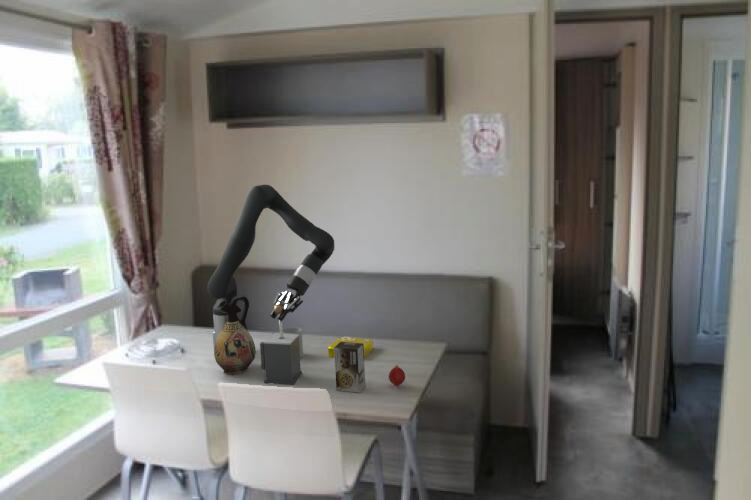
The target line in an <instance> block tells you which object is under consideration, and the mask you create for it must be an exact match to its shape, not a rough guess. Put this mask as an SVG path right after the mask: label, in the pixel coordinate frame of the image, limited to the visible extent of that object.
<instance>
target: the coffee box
mask: <svg viewBox="0 0 751 500" xmlns="http://www.w3.org/2000/svg"><path fill="white" fill-rule="evenodd" d="M334 356H335V358H334V368H335V371H334V372H335V387H336V388H335V391H338V392H350V393H359V394H360V393H361V392H362V391H363V390H364V388H366V377H365V376H366V373H365V372H366V371H365V370H366V369H365V357H364V345H363V343H350V342H340V343H339V344H337V346H335V347H334Z"/></svg>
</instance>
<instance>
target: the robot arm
mask: <svg viewBox="0 0 751 500" xmlns="http://www.w3.org/2000/svg"><path fill="white" fill-rule="evenodd" d="M245 197H246V198H245V201H244V203H243V207H242V208H241V209H242V210H241V213H240V215H239V218H238V219H237V222H236V225H235V226H234V229H233V231H232V233H231V235H230V237H229V239H228V242H227V244H226V246H225V249H224V251H223V253H222V255H221V258H220V260H219V263H218V265H217V267H216V269H215V270H214V272H213V274H212V275H211V276H210V279H209V280H208V283H207V288H206V289H207V293H208V295H209V296H210V298H212V299H215V300H216V301H215V303H214V305H213V307H212V315H213V316H212V317H213V329H214V330H213V331H212V343H213V344H212V345H213V351H214V350H215V344H216V340H217V338H218V336H219V334H220V332H221V330H222V328H223V327H224V325H225V324H226V322H227V320H228V315H227V314H226V313H223V312H218V311H216V309H217V306H218V305H219V304H220V303H221V302H222V301H223V300H225V301H226V302H227V303H229V304H230V303H231V301H232V299H233V298H234V297H235V296H238V285H237V281H236V278H235V277H234V276H233V275H234V274H235V272H236V271H237V270H238V268H239V267H240V266H241V265H242V264H243V263H244V261H245V260H246V258H248V255H249V254H250V252H251V249H252V247H253V245H254V243H255V241H256V229H257V228H256V227H257V223H258V221H259V218H260V216H261V214H262V212H263V210H265V209H268V210H271V211H273V212H274V213H275V214H277V215H278V216H279V217H280V218H281V219H282V220H283V221H284V223H285V224H286V226H287V227H288V228H289V229H290V230H291V231H292V232H293V233H294V234H295V235H297V237H299V238H301V239H302V240H303V241H305V242H310V243H311V244H312V245H314V246H315V247H314V249H313V250H311V251H312V252H311V253H310V254H309V253H308V254H307V255H306V257H304V259H303V260H302V262H301V263H300V265H298V267H297V269H296V270H295V271H294V272H293V274H292V276H291V277H290V279H289V280H288V281H287V282H286V289H285V290H284V291H280V290H279V291H278V292H277V293H276V296H275V298H274V301H273V304H272V305H273V306H274V305H276V304H285V306H284V308H283V309H284V310H282V311H281V312H280V314H279V315H275V314H274V309H272V311H271V312H270V313H269V314H270V315H269V316H270V317H271V318H272V319H276V318H277V320H278V321H279V320H280V321H282V322H283V320H284V319H285V318H286V315H287V314H289V313H294V312H295V310H297V309H298V307H300V305H302V303H303V302H304V300H303V299H302V298H301V296H304V295H305V294H306V293H307V290H308V289H309V288H310V286H311V285H312V284H313V282H314V280H315V278H316V276H317V275H318V273H319V272H320V270H321V269H322V266H324V264H325V263H326V262H327V261H328V260H329V259H330V258H331V256H332V255H333V253H334V251H335V239H334V237H333V235H331V234H330V233H329V232H328V231H326V230H324V229H322V228H320V227H318V226H316V225H315V224H314V223H313V222H311V221H310V220H309V219H307V218H306V217H305V216H303V215H302V214H301V213H299V211H297V209H295V208H294V207H292V205H290V204H289V202H288V201H286V199H284V197H283V196H282V195H281V194H280V193H279V192H278V191H277V190H276V189H275V187H273V186H271V185H270V184H258V185H255V186H252V187H251V188H250V189H249V190H248V192H247V195H246V196H245ZM235 305H237V306H238V301H237V302H236V303H235Z"/></svg>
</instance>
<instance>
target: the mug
mask: <svg viewBox="0 0 751 500" xmlns="http://www.w3.org/2000/svg"><path fill="white" fill-rule="evenodd" d="M277 334H280V333H279V332H277ZM283 334H299V349H300V359H301V358H302V357H304V344H303V329H302V328H301V327H298V326H297V327H296V326H292V327H291V326H290V327H285V328H283Z"/></svg>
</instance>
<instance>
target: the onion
mask: <svg viewBox="0 0 751 500" xmlns="http://www.w3.org/2000/svg"><path fill="white" fill-rule="evenodd" d="M388 380H389V382H390V383H391V384H393V385H394V386H395V387H396V386H398V387H400V386H401V385H402V384H403V383H404V382H405V380H406V373H405V371H404V370H403V369H402V368H401V367H399V365H397V364H396V365H395V366H394V367H392V369H391V370H390V371H389V373H388Z"/></svg>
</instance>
